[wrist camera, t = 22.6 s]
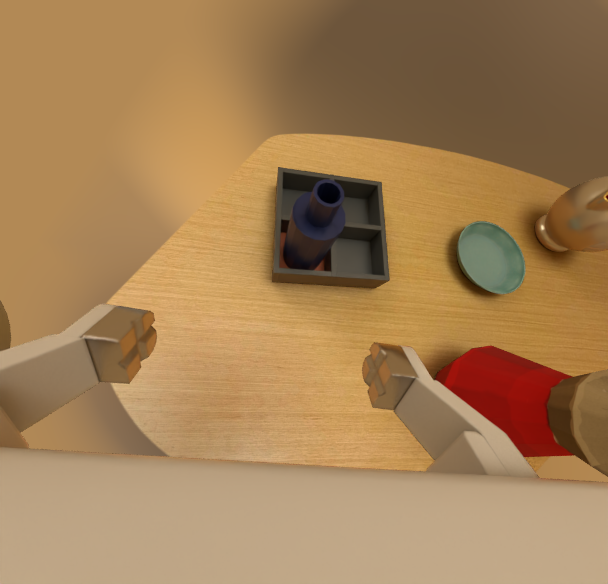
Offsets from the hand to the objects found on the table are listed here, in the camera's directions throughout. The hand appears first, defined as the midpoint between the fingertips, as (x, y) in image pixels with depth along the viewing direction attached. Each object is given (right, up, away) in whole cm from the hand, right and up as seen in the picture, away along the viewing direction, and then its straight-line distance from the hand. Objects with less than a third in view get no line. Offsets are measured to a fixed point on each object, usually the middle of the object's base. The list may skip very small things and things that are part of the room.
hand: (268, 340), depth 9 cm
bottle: (+26, -15, +30) cm, 43 cm away
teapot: (+57, +15, +43) cm, 73 cm away
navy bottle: (+1, +8, +30) cm, 31 cm away
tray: (+5, +12, +33) cm, 35 cm away
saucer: (+37, +8, +38) cm, 53 cm away
